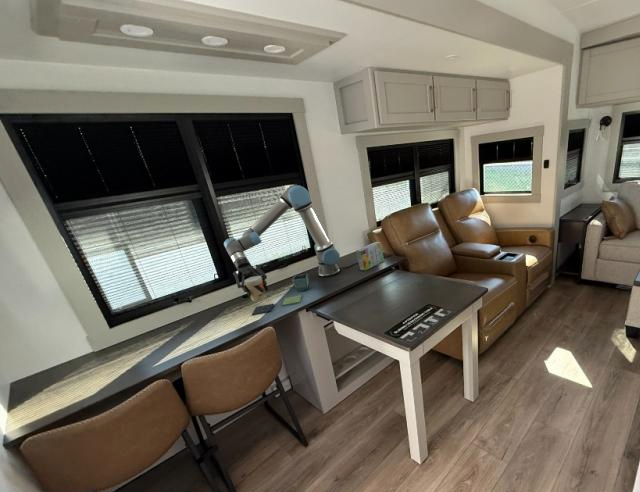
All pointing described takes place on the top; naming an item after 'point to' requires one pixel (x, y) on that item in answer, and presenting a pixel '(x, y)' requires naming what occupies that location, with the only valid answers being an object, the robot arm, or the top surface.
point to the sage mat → (292, 300)
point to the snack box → (370, 256)
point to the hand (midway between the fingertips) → (258, 292)
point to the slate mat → (262, 309)
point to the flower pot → (301, 282)
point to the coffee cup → (255, 288)
